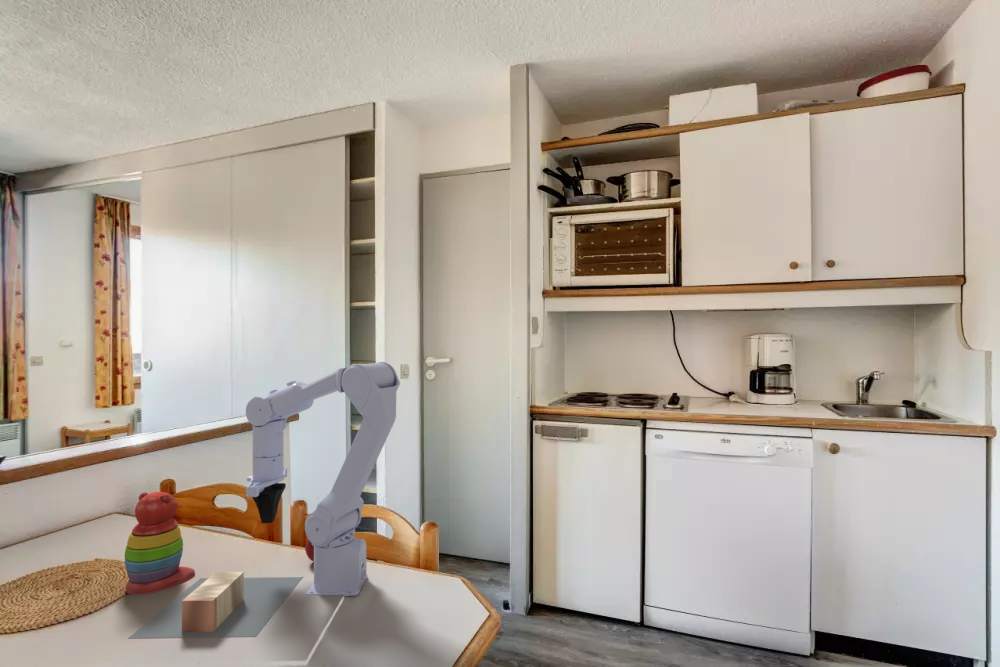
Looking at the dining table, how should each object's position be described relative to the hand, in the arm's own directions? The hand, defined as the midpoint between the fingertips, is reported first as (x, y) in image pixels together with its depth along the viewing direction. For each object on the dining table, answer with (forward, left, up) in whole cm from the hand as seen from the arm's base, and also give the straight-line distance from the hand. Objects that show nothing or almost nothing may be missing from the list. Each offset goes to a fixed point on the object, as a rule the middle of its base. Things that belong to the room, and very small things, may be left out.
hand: (268, 522), depth 103 cm
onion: (-9, -4, -11) cm, 15 cm away
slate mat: (+2, +13, -10) cm, 17 cm away
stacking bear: (+20, +4, -11) cm, 23 cm away
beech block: (+2, +11, -7) cm, 14 cm away
